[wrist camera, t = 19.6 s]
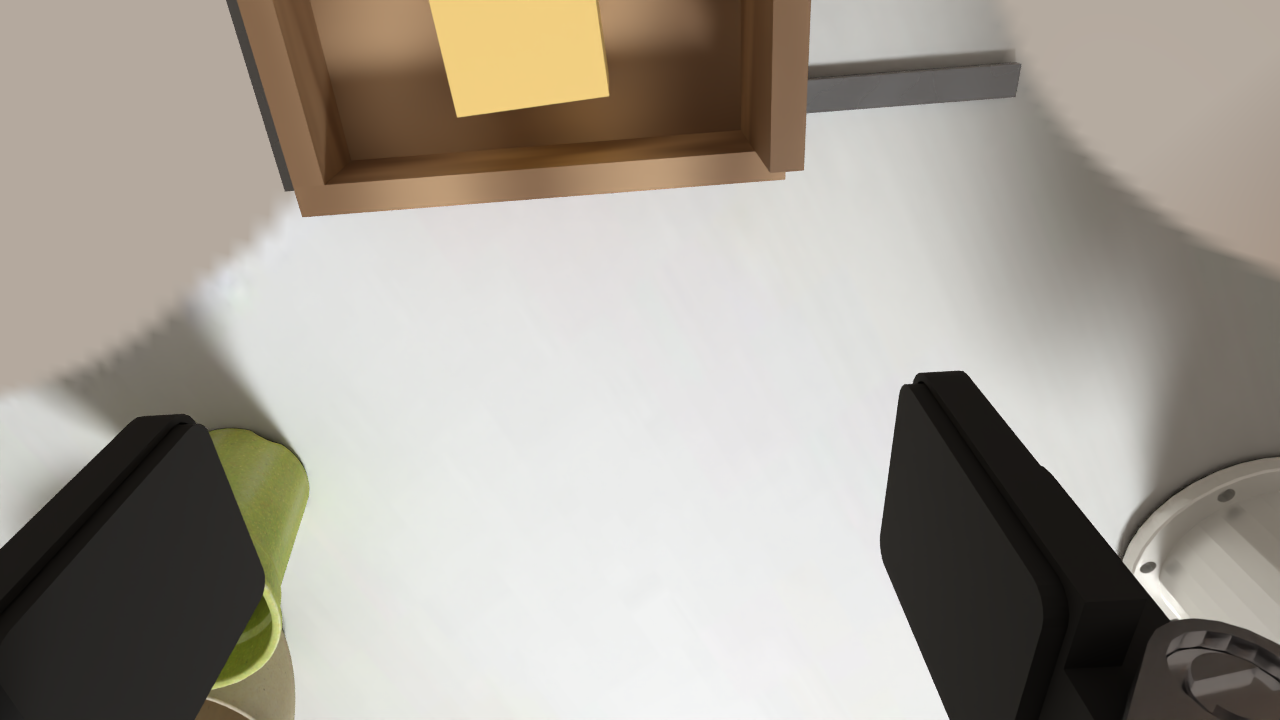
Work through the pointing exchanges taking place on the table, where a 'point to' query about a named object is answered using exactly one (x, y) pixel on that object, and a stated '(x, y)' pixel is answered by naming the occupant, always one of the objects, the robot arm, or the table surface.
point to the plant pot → (262, 533)
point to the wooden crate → (536, 136)
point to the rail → (820, 91)
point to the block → (520, 52)
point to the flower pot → (257, 692)
